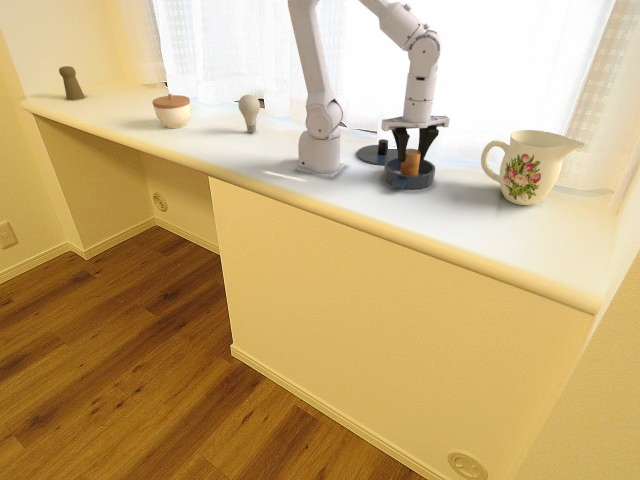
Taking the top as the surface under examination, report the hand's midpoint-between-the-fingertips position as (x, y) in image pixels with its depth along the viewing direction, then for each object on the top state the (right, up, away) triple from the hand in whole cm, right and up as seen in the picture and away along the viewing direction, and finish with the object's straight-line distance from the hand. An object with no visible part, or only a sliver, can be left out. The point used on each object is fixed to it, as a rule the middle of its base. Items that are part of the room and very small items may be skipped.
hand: (410, 159), depth 91 cm
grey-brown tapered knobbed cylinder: (-112, +35, +62) cm, 133 cm away
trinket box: (-65, +18, +36) cm, 76 cm away
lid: (-4, +4, +14) cm, 15 cm away
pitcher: (+22, -9, -3) cm, 24 cm away
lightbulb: (-41, +14, +30) cm, 52 cm away
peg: (0, -4, +3) cm, 5 cm away
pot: (0, -4, +3) cm, 5 cm away
